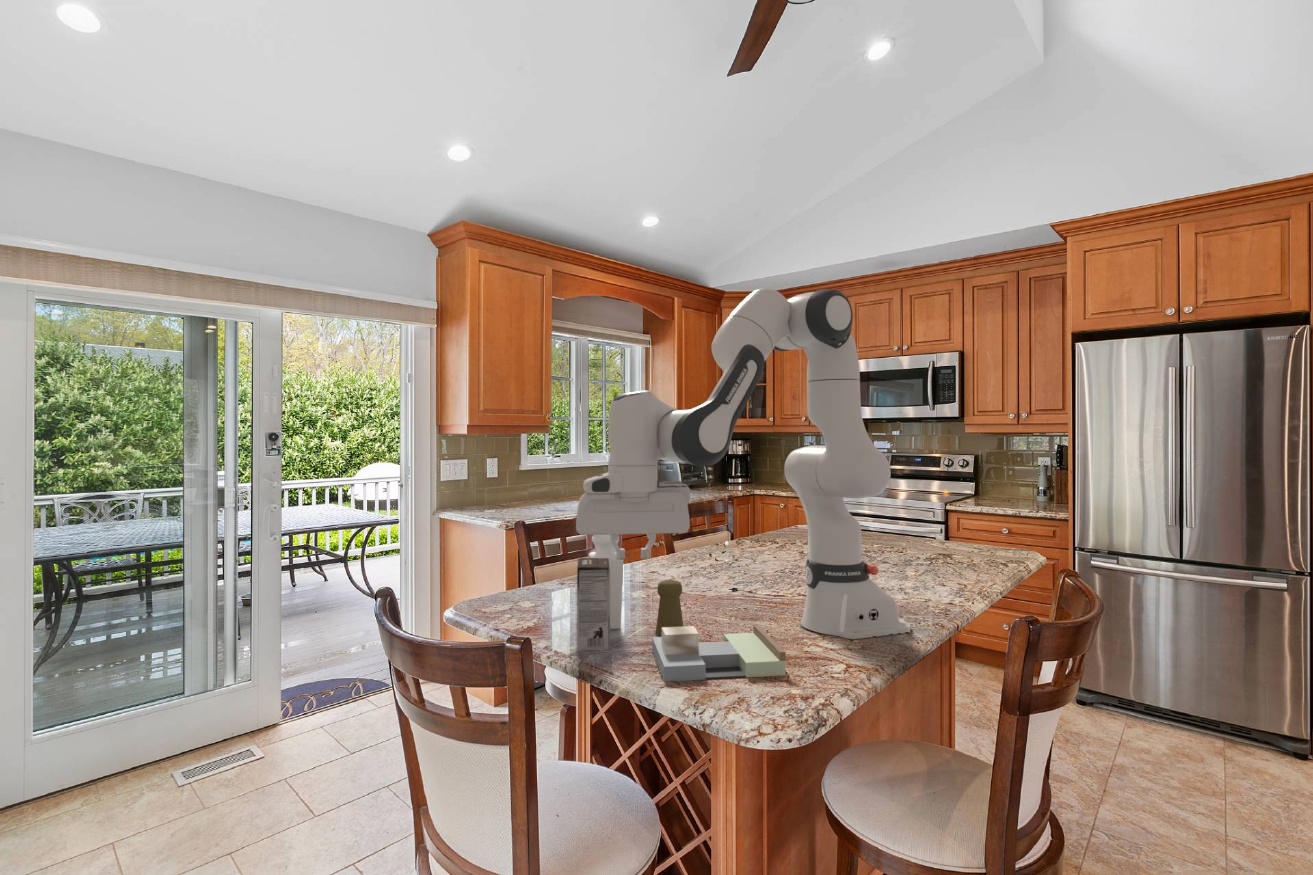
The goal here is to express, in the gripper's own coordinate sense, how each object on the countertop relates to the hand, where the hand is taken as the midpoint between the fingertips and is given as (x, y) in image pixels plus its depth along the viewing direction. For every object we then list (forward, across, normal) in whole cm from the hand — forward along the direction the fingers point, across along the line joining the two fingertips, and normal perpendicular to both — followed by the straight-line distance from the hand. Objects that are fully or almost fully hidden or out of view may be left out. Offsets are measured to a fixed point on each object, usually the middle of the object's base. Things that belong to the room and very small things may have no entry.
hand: (632, 558), depth 114 cm
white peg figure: (+19, +4, -25) cm, 32 cm away
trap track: (+19, -15, 0) cm, 24 cm away
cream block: (+17, -8, 0) cm, 19 cm away
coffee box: (+19, +6, -14) cm, 25 cm away
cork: (+19, -10, -18) cm, 28 cm away
